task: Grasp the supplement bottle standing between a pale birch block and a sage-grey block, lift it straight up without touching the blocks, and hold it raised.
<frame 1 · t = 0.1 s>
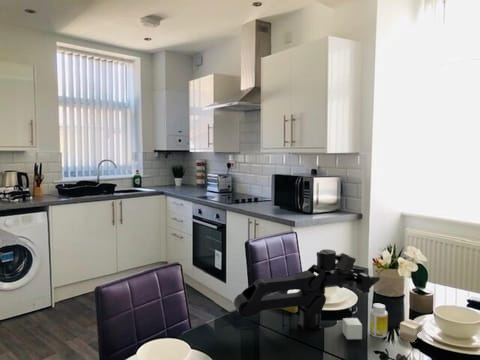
hand: (371, 274, 138), 17 cm above the table, tool horizontal, fingers open, 9 cm apart
birch block: (410, 337, 124), on the table
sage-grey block: (352, 335, 126), on the table
supplement bottle: (378, 334, 126), on the table
medication box: (283, 309, 148), on the table
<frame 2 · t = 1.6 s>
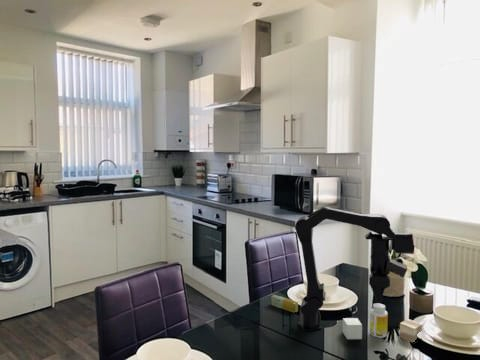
hand: (379, 297, 125), 13 cm above the table, tool pointing down, fingers open, 9 cm apart
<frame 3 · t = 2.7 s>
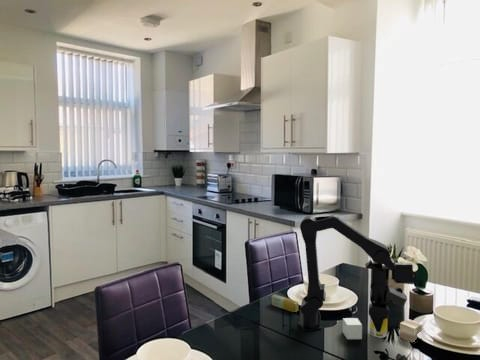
hand: (378, 325, 126), 3 cm above the table, tool pointing down, fingers open, 9 cm apart
nothing on the table moved.
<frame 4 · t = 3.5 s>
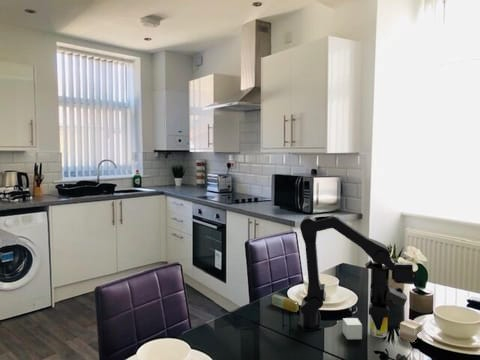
hand: (378, 325, 126), 3 cm above the table, tool pointing down, fingers closed on supplement bottle, 5 cm apart
supplement bottle: (378, 334, 126), on the table, touching gripper
everything else where it was.
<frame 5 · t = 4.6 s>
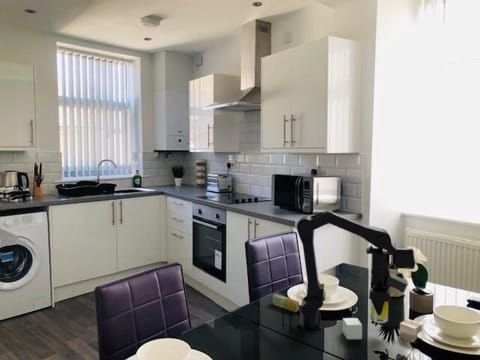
hand: (379, 311, 126), 8 cm above the table, tool pointing down, fingers closed on supplement bottle, 5 cm apart
supplement bottle: (379, 320, 126), point 5 cm above the table, touching gripper
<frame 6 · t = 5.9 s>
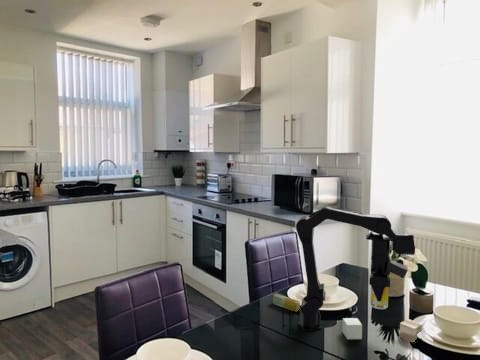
hand: (379, 297, 125), 13 cm above the table, tool pointing down, fingers closed on supplement bottle, 5 cm apart
supplement bottle: (379, 306, 125), point 10 cm above the table, touching gripper
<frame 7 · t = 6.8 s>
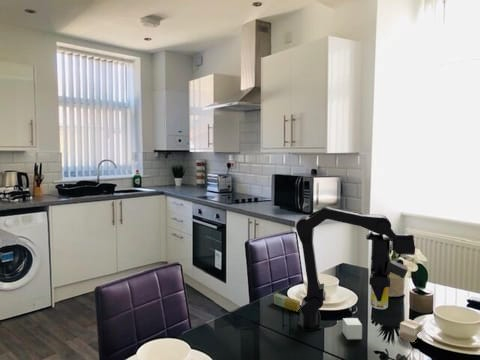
hand: (379, 297, 125), 13 cm above the table, tool pointing down, fingers closed on supplement bottle, 5 cm apart
supplement bottle: (379, 306, 125), point 10 cm above the table, touching gripper
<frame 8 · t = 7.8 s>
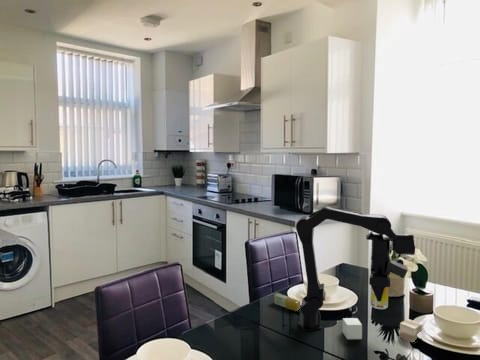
hand: (379, 297, 125), 13 cm above the table, tool pointing down, fingers closed on supplement bottle, 5 cm apart
supplement bottle: (379, 306, 125), point 10 cm above the table, touching gripper
at the end: the gripper is holding supplement bottle; supplement bottle point 9.7 cm above the table; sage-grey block moved 0.1 cm from its start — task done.
